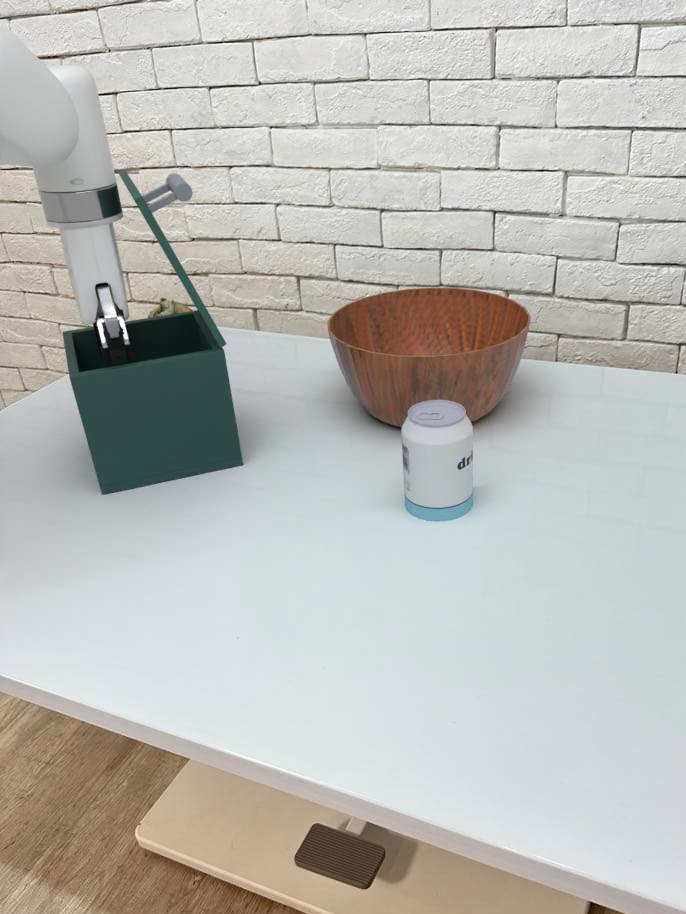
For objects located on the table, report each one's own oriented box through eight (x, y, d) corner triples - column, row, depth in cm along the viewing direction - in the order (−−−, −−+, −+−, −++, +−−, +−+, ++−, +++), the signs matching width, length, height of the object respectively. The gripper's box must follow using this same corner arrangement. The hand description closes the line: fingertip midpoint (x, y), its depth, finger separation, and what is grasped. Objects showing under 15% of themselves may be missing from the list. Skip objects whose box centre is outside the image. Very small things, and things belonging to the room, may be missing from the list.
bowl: (427, 470, 96) (424, 375, 90) (296, 406, 112) (286, 322, 106) (567, 402, 110) (573, 315, 104) (433, 353, 126) (431, 276, 119)
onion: (212, 344, 133) (203, 293, 129) (166, 358, 129) (155, 306, 124) (186, 333, 138) (177, 283, 133) (142, 346, 133) (130, 296, 129)
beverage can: (466, 540, 84) (465, 430, 78) (398, 533, 86) (392, 425, 79) (477, 504, 90) (478, 399, 83) (414, 498, 91) (409, 394, 85)
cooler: (102, 495, 95) (69, 377, 87) (91, 439, 107) (62, 331, 99) (243, 464, 99) (224, 350, 92) (218, 415, 111) (199, 309, 103)
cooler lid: (134, 199, 81) (186, 171, 81) (118, 173, 93) (163, 149, 93) (220, 348, 91) (266, 322, 92) (196, 307, 103) (236, 285, 104)
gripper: (39, 194, 92) (78, 348, 101) (47, 227, 78) (91, 401, 88) (111, 186, 94) (142, 338, 104) (130, 217, 81) (165, 388, 90)
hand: (119, 366), depth 96 cm, fingers open, 8 cm apart
